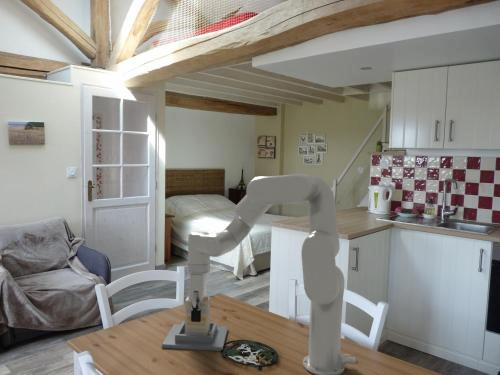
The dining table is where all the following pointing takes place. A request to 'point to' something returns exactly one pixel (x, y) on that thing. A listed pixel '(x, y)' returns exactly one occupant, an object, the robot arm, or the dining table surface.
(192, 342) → the cradle board
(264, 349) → the dining table surface
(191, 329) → the supplement box
